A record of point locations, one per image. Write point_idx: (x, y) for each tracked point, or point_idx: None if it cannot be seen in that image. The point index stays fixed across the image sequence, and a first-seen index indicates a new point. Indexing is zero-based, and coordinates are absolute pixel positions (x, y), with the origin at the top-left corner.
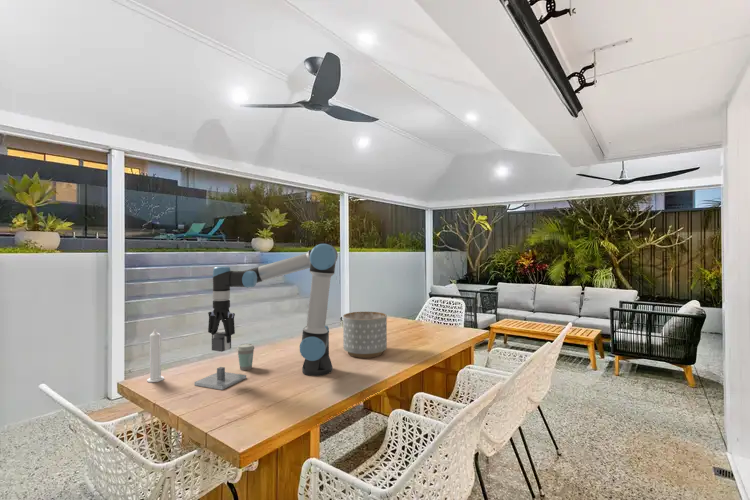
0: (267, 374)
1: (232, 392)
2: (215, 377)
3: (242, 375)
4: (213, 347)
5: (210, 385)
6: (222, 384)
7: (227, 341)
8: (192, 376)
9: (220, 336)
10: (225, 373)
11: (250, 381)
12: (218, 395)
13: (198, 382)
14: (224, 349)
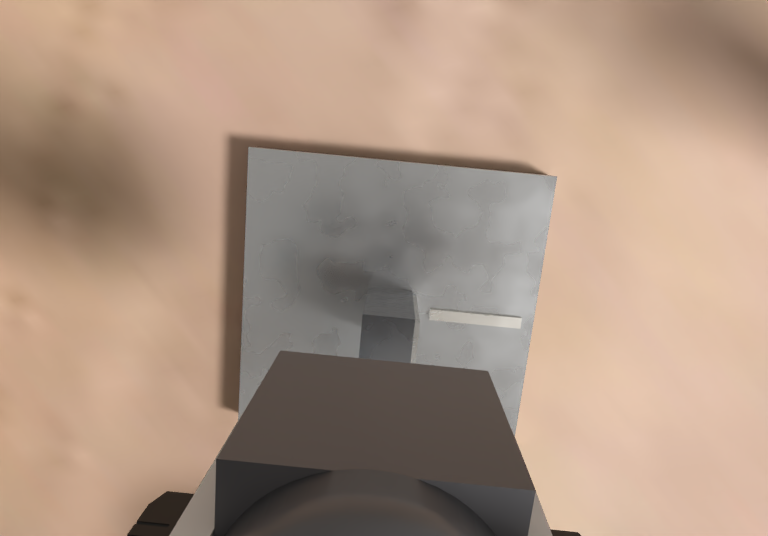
0: None
1: (143, 123)
2: (444, 311)
3: None
4: (456, 389)
5: (377, 159)
6: (280, 190)
7: (180, 513)
8: (703, 348)
9: (264, 534)
10: None
11: (169, 364)
12: (204, 34)
13: (515, 177)
14: None
